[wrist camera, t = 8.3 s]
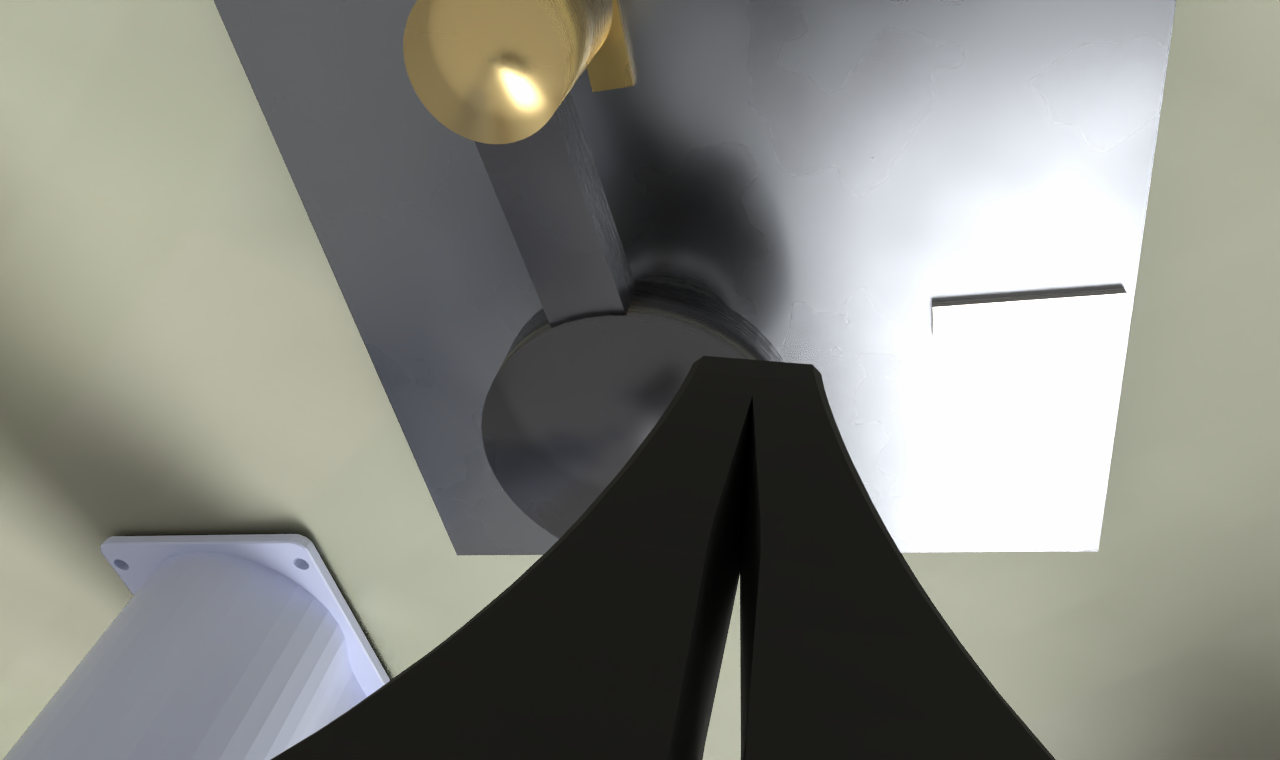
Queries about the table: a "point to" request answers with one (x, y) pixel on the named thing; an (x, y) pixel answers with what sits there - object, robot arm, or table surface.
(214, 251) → the table surface
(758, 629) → the robot arm
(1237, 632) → the table surface
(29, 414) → the table surface
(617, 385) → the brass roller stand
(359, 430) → the table surface
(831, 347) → the lever base
